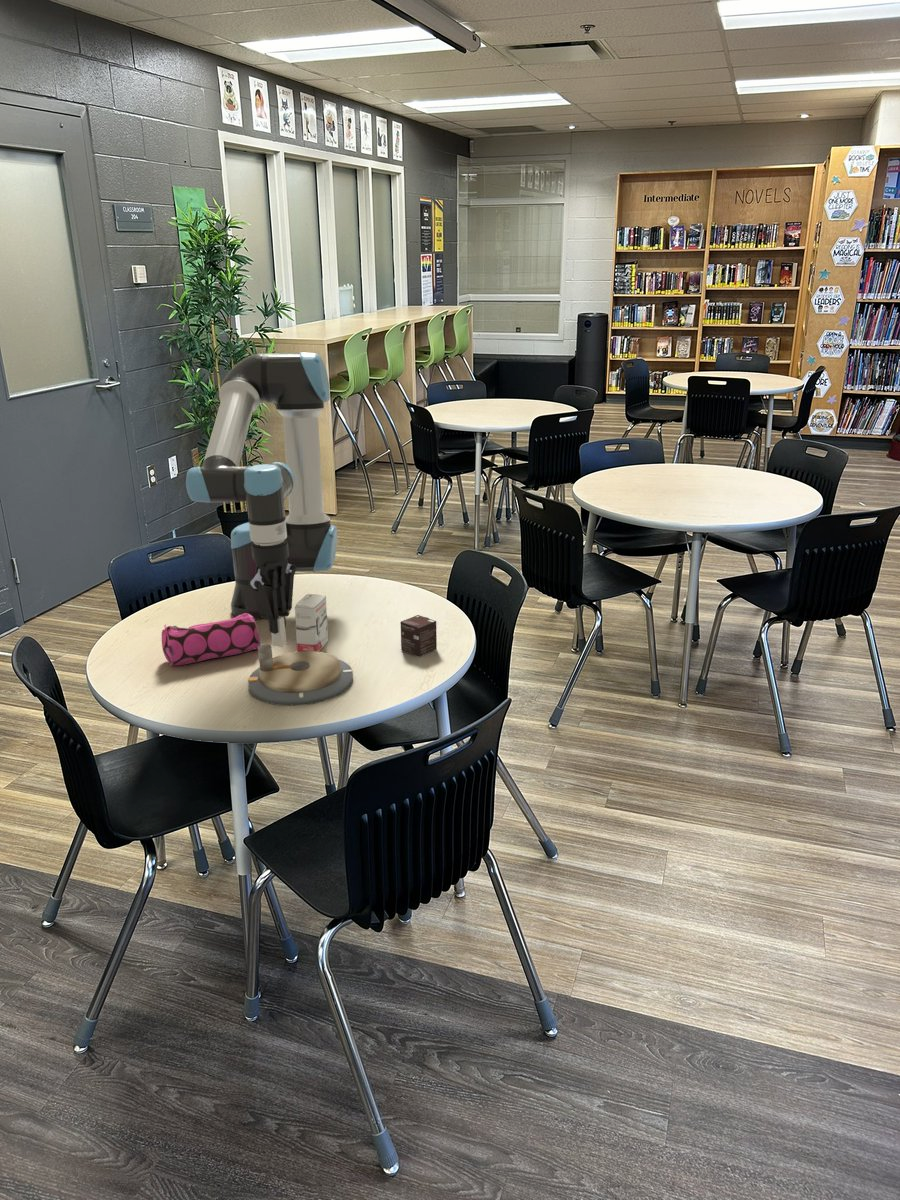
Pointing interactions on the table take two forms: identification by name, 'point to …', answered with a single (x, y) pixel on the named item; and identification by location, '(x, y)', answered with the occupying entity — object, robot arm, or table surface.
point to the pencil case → (210, 640)
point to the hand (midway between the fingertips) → (279, 644)
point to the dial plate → (301, 697)
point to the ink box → (311, 623)
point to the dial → (297, 670)
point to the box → (418, 635)
